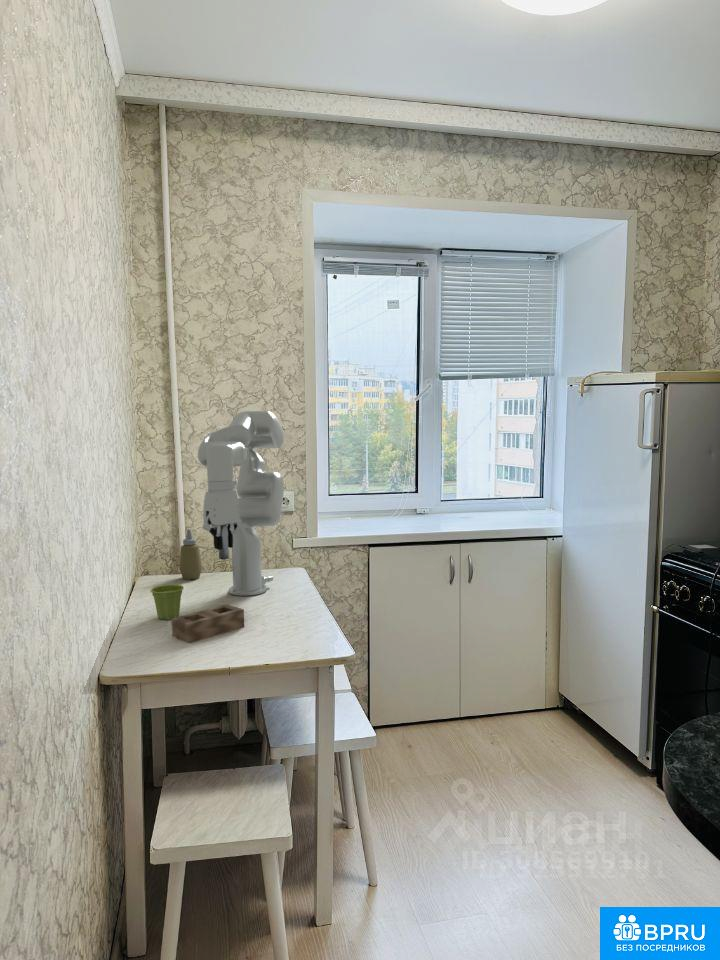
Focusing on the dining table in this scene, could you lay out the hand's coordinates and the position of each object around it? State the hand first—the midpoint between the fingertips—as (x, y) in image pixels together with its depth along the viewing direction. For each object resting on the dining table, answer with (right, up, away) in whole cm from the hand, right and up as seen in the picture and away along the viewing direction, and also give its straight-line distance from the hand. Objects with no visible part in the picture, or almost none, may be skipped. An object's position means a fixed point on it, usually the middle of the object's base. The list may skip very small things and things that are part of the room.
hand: (223, 547), depth 203 cm
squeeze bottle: (-21, -16, +48) cm, 55 cm away
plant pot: (-17, -21, +1) cm, 27 cm away
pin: (0, -3, 0) cm, 3 cm away
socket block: (-1, -22, -13) cm, 26 cm away
